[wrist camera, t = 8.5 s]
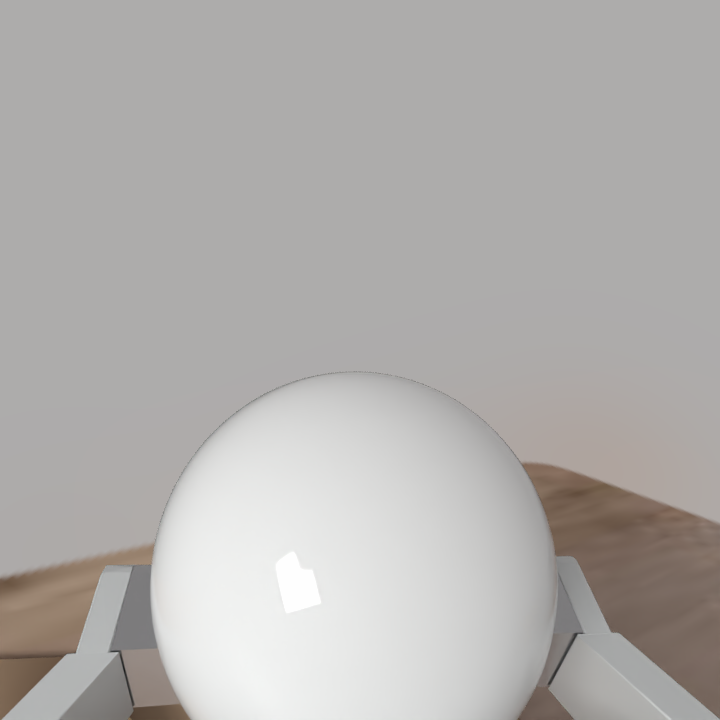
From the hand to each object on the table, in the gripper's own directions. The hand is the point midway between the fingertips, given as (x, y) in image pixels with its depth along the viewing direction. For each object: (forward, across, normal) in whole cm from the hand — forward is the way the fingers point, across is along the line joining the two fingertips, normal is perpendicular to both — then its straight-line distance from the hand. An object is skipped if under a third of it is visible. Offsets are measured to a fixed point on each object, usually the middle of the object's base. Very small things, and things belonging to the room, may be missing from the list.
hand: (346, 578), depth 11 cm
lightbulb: (-1, 0, +6) cm, 6 cm away
